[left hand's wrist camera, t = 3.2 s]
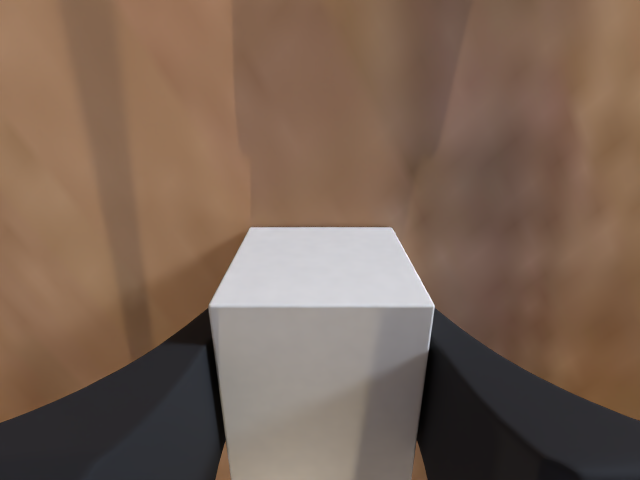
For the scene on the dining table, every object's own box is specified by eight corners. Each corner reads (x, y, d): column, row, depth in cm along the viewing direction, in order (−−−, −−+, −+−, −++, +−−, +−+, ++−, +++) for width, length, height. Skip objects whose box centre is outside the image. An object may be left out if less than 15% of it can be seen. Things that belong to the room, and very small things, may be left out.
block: (259, 358, 13) (230, 484, 9) (249, 226, 12) (206, 305, 7) (382, 358, 13) (411, 484, 9) (392, 226, 12) (435, 305, 7)
